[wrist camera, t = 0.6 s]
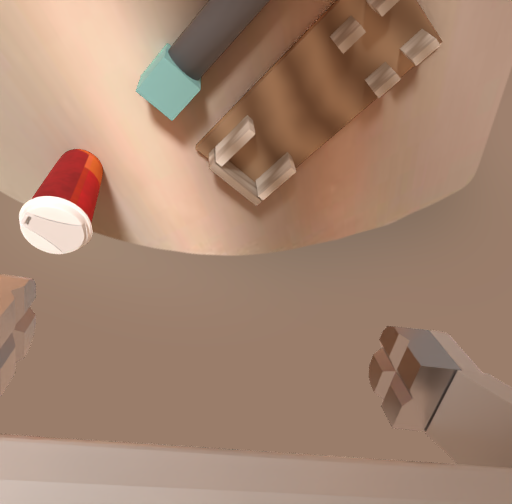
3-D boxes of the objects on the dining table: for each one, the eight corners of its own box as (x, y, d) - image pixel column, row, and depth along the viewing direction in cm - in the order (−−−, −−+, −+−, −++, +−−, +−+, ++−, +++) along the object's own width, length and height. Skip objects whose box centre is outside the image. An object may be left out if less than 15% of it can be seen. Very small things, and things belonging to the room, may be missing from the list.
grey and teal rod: (321, -148, 39) (333, -151, 35) (352, -97, 41) (367, -95, 37) (141, 75, 50) (135, 91, 46) (174, 103, 53) (172, 121, 49)
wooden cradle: (383, -49, 44) (400, -42, 40) (438, 39, 50) (457, 52, 46) (195, 145, 57) (194, 164, 53) (258, 196, 63) (261, 216, 59)
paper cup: (42, 173, 58) (5, 239, 47) (64, 130, 54) (29, 191, 43) (97, 200, 61) (74, 267, 51) (121, 161, 57) (102, 225, 47)
